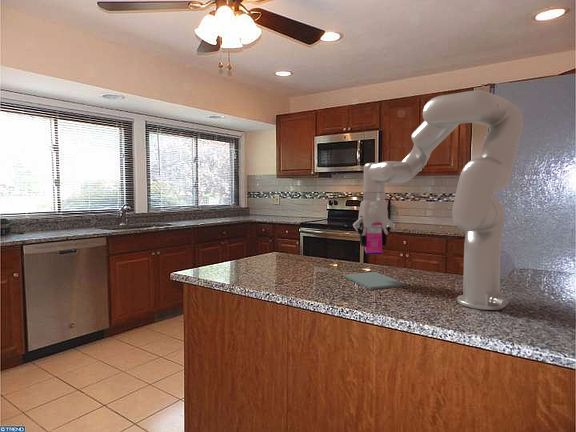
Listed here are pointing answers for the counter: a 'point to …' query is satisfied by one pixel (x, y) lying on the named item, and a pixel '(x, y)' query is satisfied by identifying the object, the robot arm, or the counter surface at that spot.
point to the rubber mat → (374, 280)
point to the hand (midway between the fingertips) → (373, 245)
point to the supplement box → (374, 239)
